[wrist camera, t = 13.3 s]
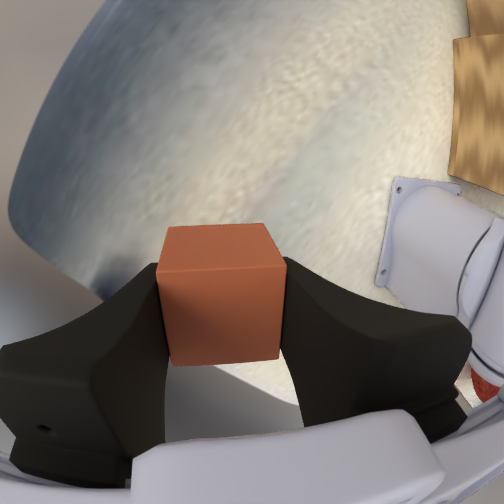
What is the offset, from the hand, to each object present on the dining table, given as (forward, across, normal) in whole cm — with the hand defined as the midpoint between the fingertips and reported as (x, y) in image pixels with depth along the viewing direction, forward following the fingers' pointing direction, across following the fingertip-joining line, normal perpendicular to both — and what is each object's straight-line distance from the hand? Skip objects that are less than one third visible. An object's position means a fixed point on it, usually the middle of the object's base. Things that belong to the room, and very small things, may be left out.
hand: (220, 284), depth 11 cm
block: (+1, 0, 0) cm, 1 cm away
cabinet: (+10, -25, -9) cm, 29 cm away
